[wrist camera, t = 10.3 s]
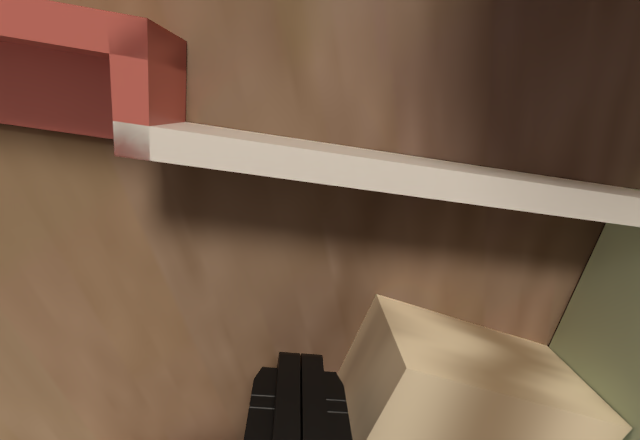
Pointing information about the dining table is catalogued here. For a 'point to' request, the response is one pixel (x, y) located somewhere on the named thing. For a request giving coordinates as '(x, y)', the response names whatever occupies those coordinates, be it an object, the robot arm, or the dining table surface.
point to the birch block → (463, 383)
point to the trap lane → (310, 163)
